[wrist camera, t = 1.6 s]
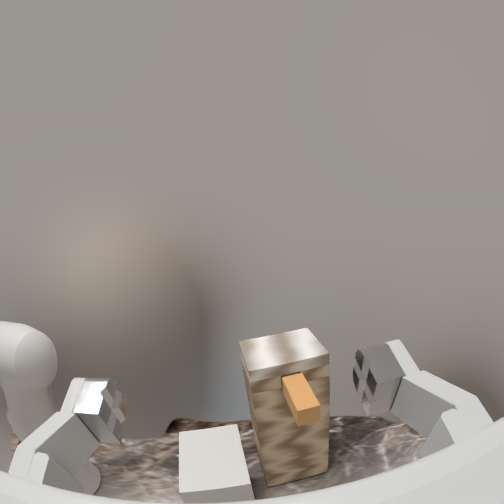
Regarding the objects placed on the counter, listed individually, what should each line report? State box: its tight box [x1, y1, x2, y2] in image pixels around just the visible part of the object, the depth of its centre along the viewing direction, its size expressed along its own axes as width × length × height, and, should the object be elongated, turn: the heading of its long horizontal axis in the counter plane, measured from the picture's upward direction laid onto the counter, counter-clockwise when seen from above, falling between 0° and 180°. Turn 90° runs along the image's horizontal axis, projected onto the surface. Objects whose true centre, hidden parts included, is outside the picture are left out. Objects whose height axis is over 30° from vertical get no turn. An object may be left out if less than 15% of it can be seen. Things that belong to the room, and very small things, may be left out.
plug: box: [281, 372, 320, 426], centre depth 42 cm, size 3×13×3 cm, turn 10°
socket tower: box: [239, 328, 330, 487], centre depth 51 cm, size 12×10×28 cm
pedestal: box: [179, 424, 255, 503], centre depth 42 cm, size 10×14×16 cm
